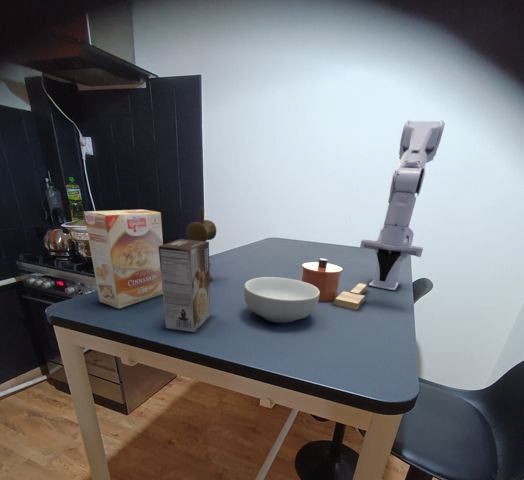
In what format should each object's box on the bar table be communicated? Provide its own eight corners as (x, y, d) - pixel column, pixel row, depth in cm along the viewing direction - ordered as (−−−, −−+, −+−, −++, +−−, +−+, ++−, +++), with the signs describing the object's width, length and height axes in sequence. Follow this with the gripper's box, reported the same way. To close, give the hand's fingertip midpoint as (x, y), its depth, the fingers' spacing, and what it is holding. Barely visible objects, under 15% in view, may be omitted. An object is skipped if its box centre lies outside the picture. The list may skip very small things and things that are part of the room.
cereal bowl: (305, 338, 64) (310, 304, 60) (230, 322, 68) (231, 290, 65) (321, 311, 78) (326, 283, 75) (258, 299, 82) (260, 272, 79)
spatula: (351, 288, 98) (353, 281, 97) (371, 292, 95) (373, 285, 94) (333, 305, 83) (335, 297, 82) (356, 310, 80) (358, 302, 79)
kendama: (187, 283, 91) (184, 207, 81) (199, 275, 99) (197, 205, 90) (207, 285, 90) (206, 209, 81) (217, 277, 98) (218, 207, 89)
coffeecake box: (119, 309, 70) (104, 214, 61) (98, 302, 73) (81, 210, 64) (168, 293, 82) (162, 211, 73) (148, 287, 85) (140, 208, 76)
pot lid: (309, 264, 92) (311, 253, 91) (346, 270, 88) (348, 259, 86) (295, 271, 83) (296, 259, 82) (335, 278, 79) (337, 266, 78)
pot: (307, 287, 95) (311, 262, 91) (340, 294, 91) (345, 268, 87) (294, 296, 87) (297, 268, 83) (329, 304, 83) (334, 275, 79)
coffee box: (183, 312, 71) (179, 238, 64) (210, 316, 70) (210, 241, 63) (164, 328, 63) (157, 245, 56) (194, 333, 62) (191, 249, 55)
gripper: (362, 222, 76) (351, 278, 82) (427, 230, 70) (410, 289, 77) (368, 220, 81) (357, 273, 88) (429, 227, 76) (413, 283, 82)
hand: (382, 280), depth 83 cm, fingers closed
